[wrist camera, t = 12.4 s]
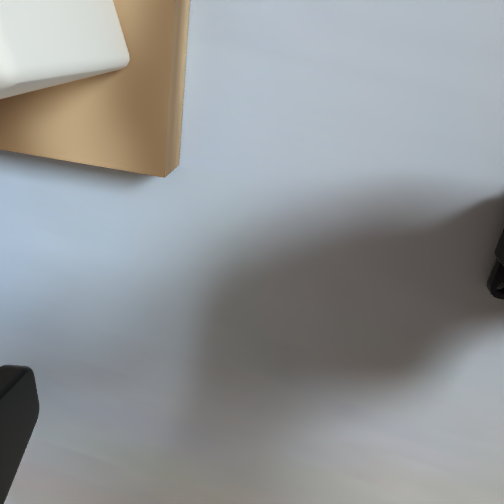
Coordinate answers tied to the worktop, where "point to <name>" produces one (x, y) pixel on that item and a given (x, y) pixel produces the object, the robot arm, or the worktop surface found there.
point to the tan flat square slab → (113, 101)
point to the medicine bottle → (57, 43)
